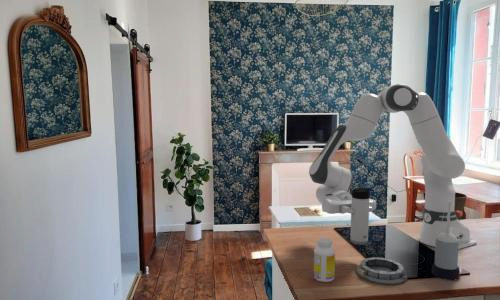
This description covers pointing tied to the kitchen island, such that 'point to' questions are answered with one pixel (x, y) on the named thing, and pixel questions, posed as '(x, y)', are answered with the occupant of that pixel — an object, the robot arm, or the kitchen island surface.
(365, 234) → the travel mug
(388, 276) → the collar
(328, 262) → the supplement bottle
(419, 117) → the robot arm
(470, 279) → the kitchen island surface
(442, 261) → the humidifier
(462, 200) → the plant pot
